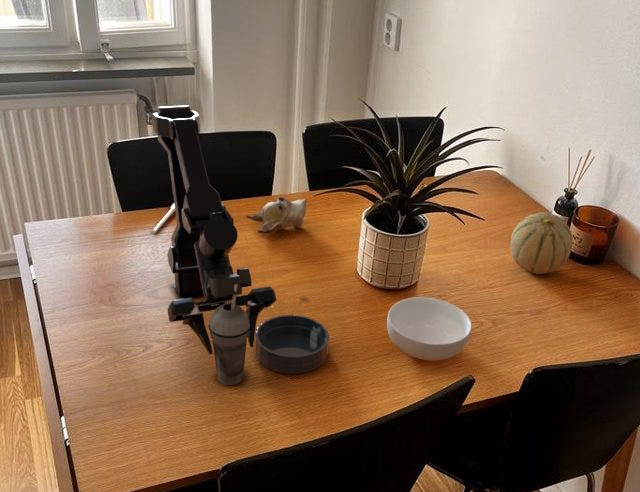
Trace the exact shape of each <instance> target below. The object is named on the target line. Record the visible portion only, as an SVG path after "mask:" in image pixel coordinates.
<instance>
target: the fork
mask: <svg viewBox="0 0 640 492" xmlns="http://www.w3.org/2000/svg"><path fill="white" fill-rule="evenodd" d="M174 212H175V204H174V203H172V205H171V206H170V209H169V211H168V212H167V213H166V214H165V215H164V216H163V218H162V219H161V220H160V221H159V222H158V223H157V224H156V226H155V227H154V228H153V229H152V233H157V232H158V230H159V229H160V228H161V227H162V226H163V225H164V224H165V222H166V221H167V220H168V219H170V217H171V216H172V215H173V214H174Z"/></svg>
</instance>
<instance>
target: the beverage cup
mask: <svg viewBox="0 0 640 492" xmlns="http://www.w3.org/2000/svg"><path fill="white" fill-rule="evenodd" d="M234 291H235V292H236V291H237V284H235V285H234ZM235 300H236V295H235V294H233V300H232V302H231V303H232V304H231V303H230V302H229V303H228V304H226V303H225V304H223V305H221V306H219V307H217V308H216V309H215V310H212V313H211V315H210V318H209V321H208V322H209V323H208V330H209V334H210V338H211V340H212V347H213V354H214V362H215V371H216V375H217V381H218V382H219V383H221V384H222V385H225V386H234V385H237V384H239V383H240V382H242V380H243V375H244V371H245V361H246V352H247V342H248V333H249V329H250V323H249V319H248V316H247V314H246V312H245V311H246V310H244V308H243V307H242V306H238V305H236V304H235Z"/></svg>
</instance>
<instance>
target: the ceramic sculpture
mask: <svg viewBox="0 0 640 492" xmlns="http://www.w3.org/2000/svg"><path fill="white" fill-rule="evenodd" d="M306 213H307V199H306V198H303V199H296V200H294V201H290V200H289V199H288V198H285V197H281V196H280V197H278V199H277V200H272V201H269V202H268V201H267V203H266V204H265V205H264V206H263V208H262V209H261V210H259V211H257V212H256V213H255V212H254V214H251V215H250V214H247V215H245V218H247V219H249V220H251V221H254V222H257V223H263V224H262V225H261V227H260V229H258V230H257V231H256V232H257V233H259V234H265V235H271V234H274V233H276V232H277V231H279V230H283V229H285V228H289V227H292V226H293V227H296V228H298V229H299V228H301V227H302V225H303V223H304V219H305V216H306Z"/></svg>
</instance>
